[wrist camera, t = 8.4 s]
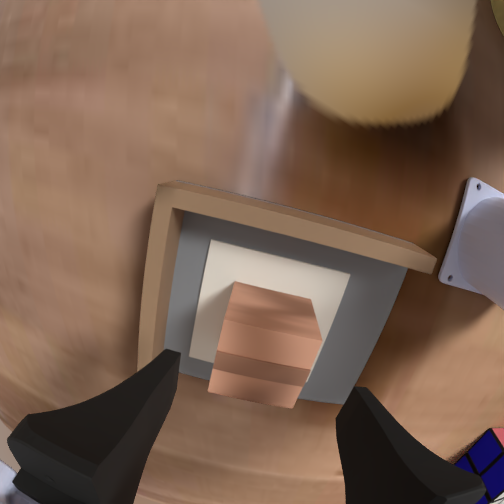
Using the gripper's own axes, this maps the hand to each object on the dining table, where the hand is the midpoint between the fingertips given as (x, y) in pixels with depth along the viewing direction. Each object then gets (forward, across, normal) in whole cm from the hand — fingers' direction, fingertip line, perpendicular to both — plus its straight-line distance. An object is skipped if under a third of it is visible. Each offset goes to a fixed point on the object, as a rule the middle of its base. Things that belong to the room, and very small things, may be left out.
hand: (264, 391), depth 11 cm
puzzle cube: (+10, -38, +18) cm, 43 cm away
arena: (+9, -1, +1) cm, 9 cm away
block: (+9, 0, +2) cm, 9 cm away
